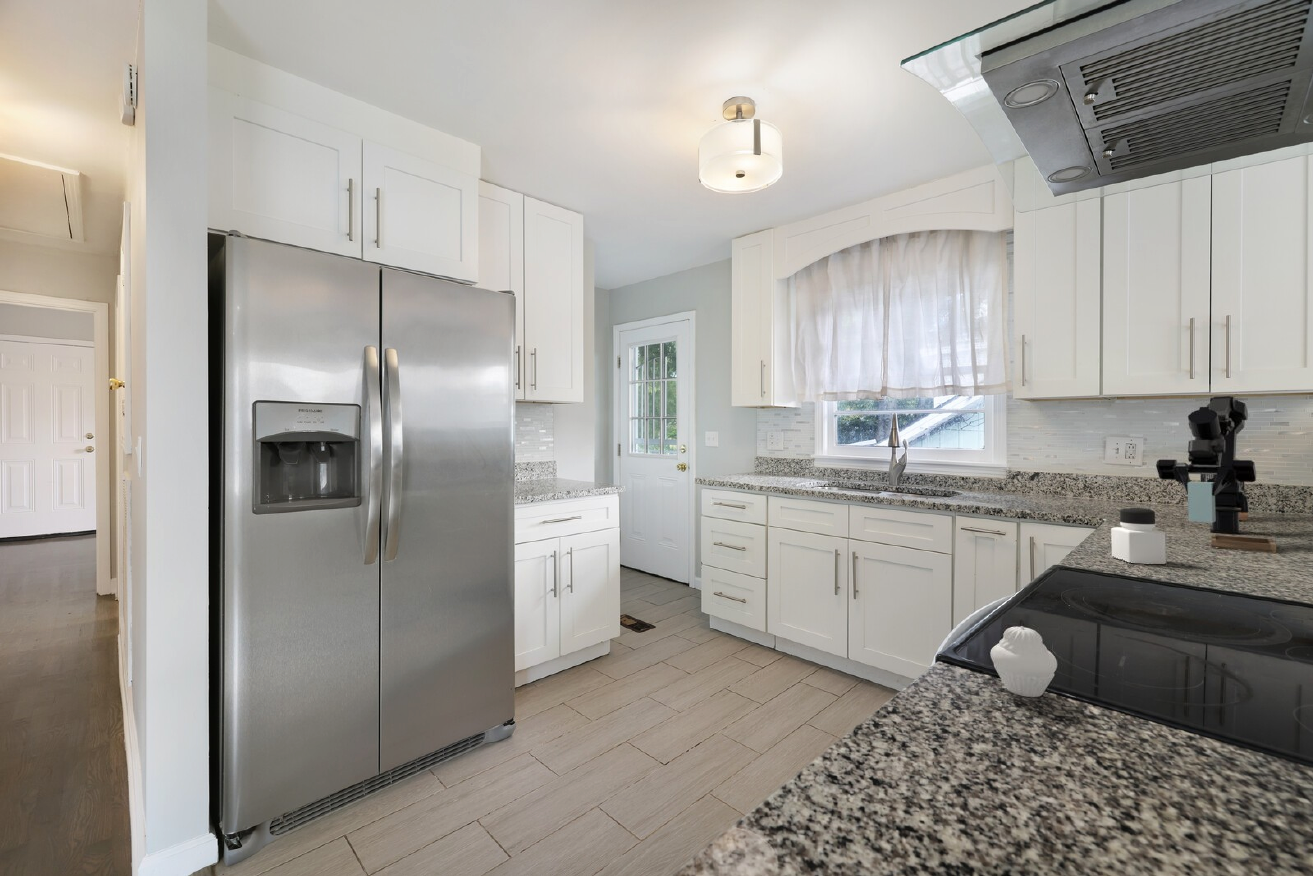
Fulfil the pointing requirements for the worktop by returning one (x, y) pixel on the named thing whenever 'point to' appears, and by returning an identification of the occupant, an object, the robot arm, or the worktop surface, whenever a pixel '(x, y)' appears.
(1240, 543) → the tray
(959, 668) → the worktop surface
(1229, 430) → the robot arm
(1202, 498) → the post
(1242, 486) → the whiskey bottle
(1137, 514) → the medicine bottle
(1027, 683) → the muffin
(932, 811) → the worktop surface
